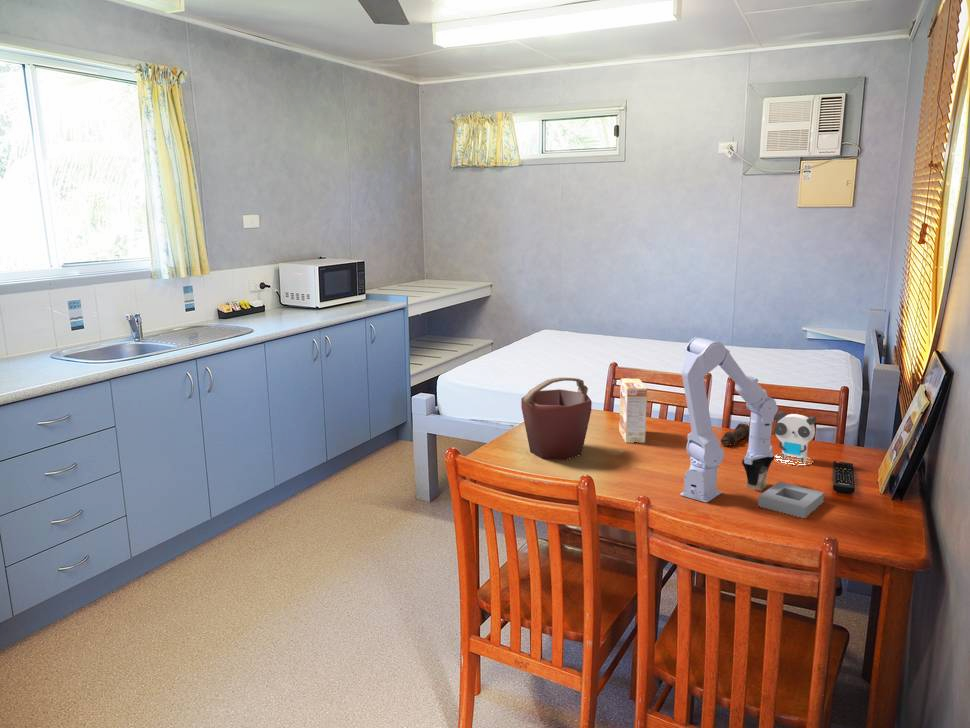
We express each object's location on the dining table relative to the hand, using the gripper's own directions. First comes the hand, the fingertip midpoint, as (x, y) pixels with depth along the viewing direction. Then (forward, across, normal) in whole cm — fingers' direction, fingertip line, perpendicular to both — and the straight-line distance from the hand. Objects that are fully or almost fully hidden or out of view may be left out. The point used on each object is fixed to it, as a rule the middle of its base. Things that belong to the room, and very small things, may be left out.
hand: (756, 481), depth 202 cm
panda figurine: (+2, +30, +1) cm, 30 cm away
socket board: (+2, -6, -12) cm, 14 cm away
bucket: (+2, -14, +61) cm, 63 cm away
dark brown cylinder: (+2, +35, +23) cm, 42 cm away
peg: (+2, 0, 0) cm, 2 cm away
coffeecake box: (+2, +17, +52) cm, 55 cm away
